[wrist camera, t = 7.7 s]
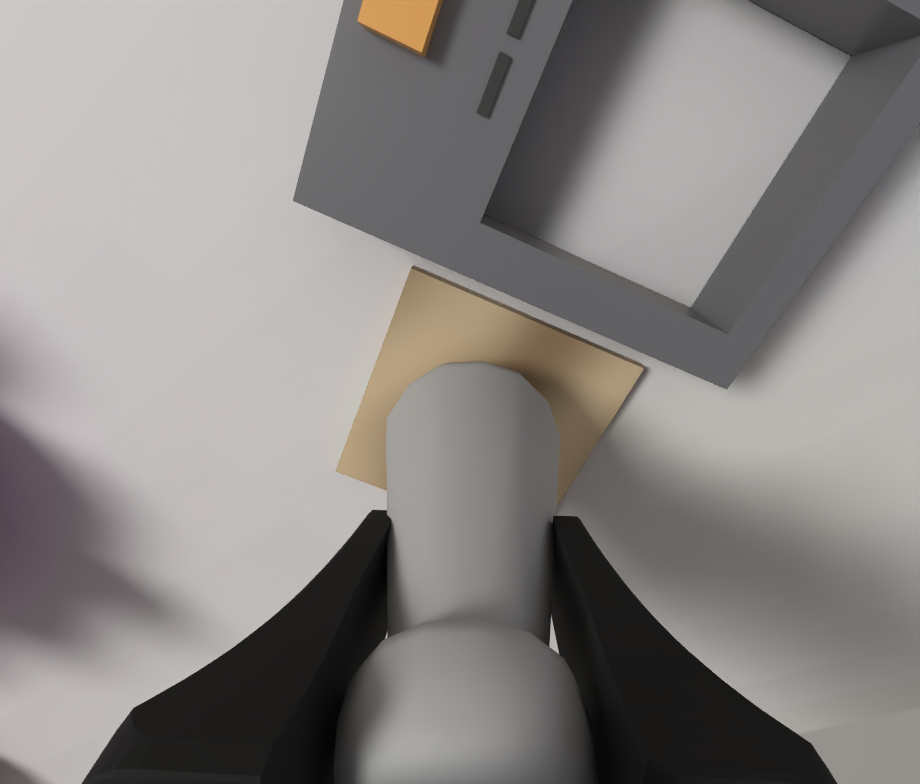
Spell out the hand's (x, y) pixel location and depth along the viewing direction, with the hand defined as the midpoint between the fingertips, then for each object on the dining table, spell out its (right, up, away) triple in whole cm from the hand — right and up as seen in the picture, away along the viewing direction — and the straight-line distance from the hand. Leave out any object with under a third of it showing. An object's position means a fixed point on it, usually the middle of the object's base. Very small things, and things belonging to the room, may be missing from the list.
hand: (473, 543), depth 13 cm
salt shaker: (0, +3, +6) cm, 7 cm away
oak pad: (0, +3, +7) cm, 7 cm away
